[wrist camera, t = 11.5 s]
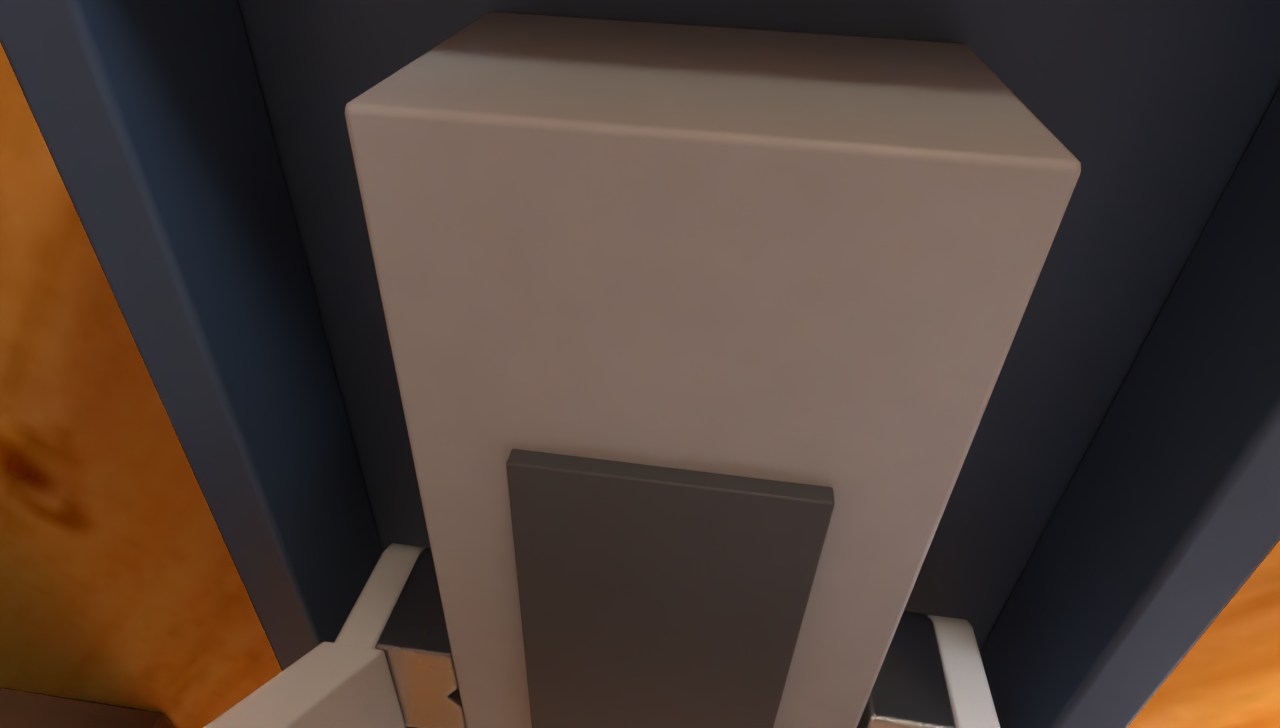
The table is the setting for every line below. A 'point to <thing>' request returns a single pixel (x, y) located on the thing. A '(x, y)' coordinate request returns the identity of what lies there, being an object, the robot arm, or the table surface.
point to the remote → (692, 348)
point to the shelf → (70, 713)
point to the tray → (803, 3)
